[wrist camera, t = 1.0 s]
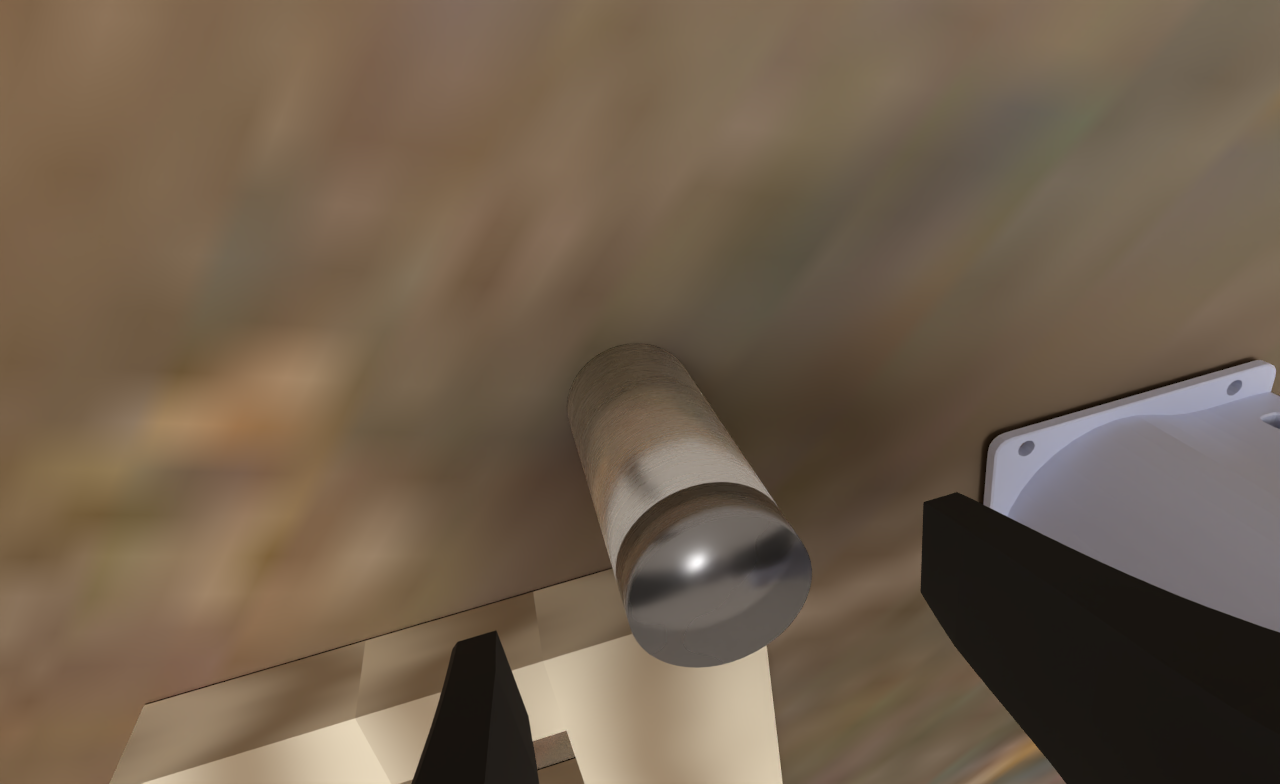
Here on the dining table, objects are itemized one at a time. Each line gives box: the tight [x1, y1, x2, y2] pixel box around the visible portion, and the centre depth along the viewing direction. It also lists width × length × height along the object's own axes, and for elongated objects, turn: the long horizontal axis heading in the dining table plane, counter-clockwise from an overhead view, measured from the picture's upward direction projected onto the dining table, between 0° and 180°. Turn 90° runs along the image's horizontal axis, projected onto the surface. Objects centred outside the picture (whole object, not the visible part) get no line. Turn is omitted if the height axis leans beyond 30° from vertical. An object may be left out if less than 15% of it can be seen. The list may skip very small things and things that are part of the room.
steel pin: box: [567, 344, 812, 668], centre depth 15 cm, size 3×3×7 cm
